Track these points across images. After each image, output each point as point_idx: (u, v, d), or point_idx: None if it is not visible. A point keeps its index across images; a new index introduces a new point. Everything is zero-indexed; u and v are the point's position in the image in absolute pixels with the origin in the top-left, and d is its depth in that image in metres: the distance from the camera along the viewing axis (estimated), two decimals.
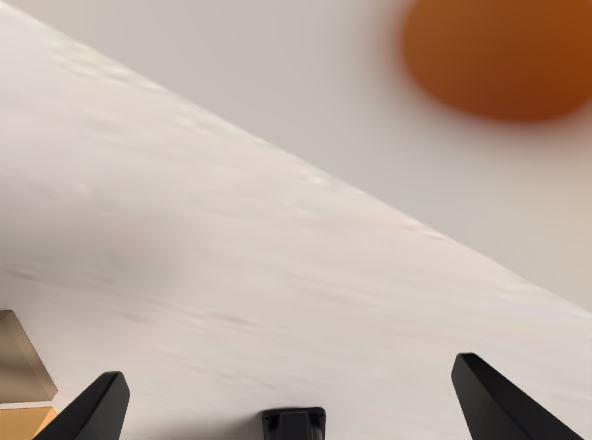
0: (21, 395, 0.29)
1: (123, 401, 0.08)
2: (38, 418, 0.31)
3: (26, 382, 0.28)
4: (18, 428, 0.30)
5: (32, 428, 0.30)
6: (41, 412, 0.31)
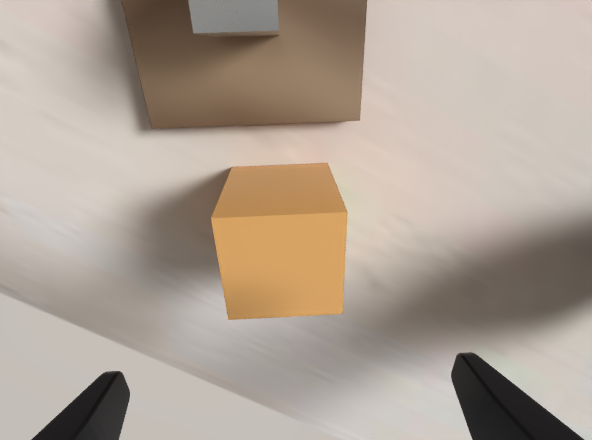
0: (312, 101, 0.15)
1: (123, 401, 0.08)
2: (318, 169, 0.17)
3: (337, 60, 0.14)
4: (295, 176, 0.16)
5: (320, 176, 0.16)
6: (315, 166, 0.17)
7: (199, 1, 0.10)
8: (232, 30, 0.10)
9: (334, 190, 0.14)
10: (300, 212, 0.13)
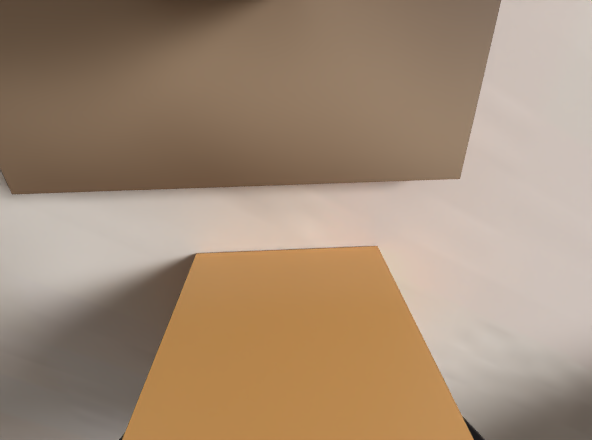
0: (364, 140, 0.07)
1: None
2: (365, 269, 0.08)
3: (430, 49, 0.06)
4: (322, 293, 0.08)
5: (375, 292, 0.08)
6: (357, 256, 0.09)
7: None
8: None
9: (422, 357, 0.06)
10: None
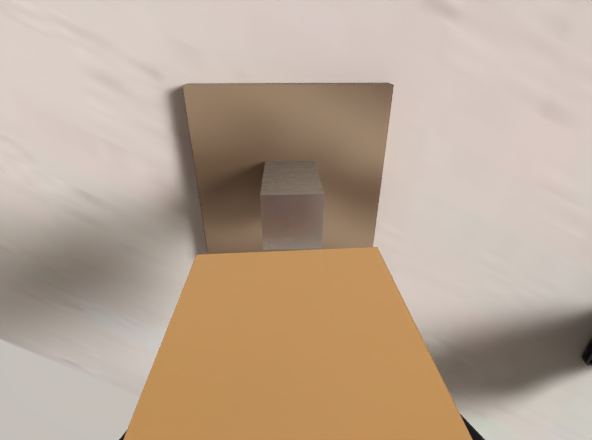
0: (335, 246, 0.20)
1: None
2: (365, 270, 0.08)
3: (356, 220, 0.19)
4: (323, 294, 0.08)
5: (375, 293, 0.08)
6: (357, 257, 0.09)
7: (269, 233, 0.14)
8: (290, 248, 0.14)
9: (422, 358, 0.06)
10: None
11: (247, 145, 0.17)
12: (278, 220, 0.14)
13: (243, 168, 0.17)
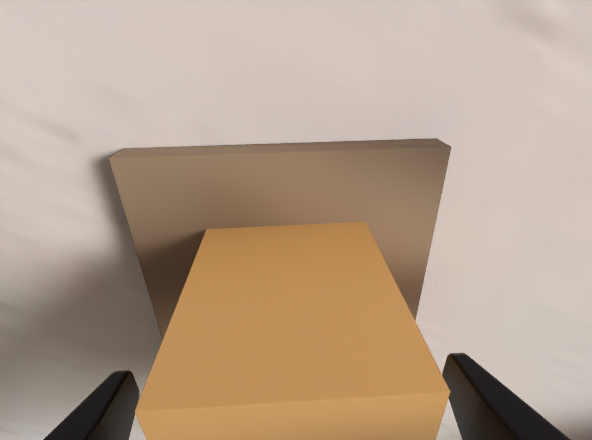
0: None
1: (133, 401, 0.08)
2: (353, 239, 0.10)
3: None
4: (316, 258, 0.09)
5: (361, 256, 0.09)
6: (347, 229, 0.10)
7: None
8: None
9: (397, 302, 0.07)
10: (342, 390, 0.06)
11: None
12: None
13: None
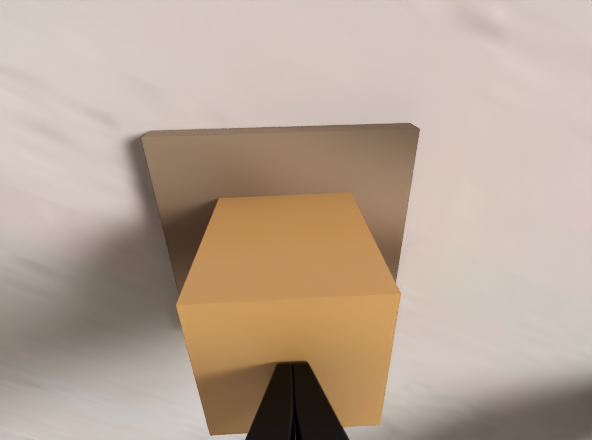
0: None
1: None
2: (339, 204, 0.12)
3: None
4: (309, 217, 0.11)
5: (345, 216, 0.11)
6: (335, 198, 0.12)
7: None
8: None
9: (370, 244, 0.10)
10: (323, 293, 0.08)
11: None
12: None
13: None
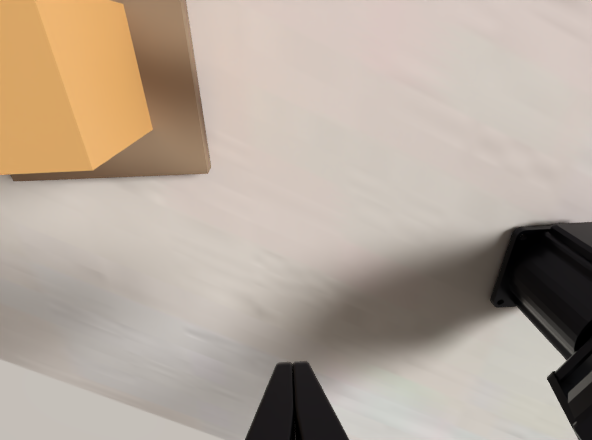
0: (160, 158, 0.17)
1: None
2: None
3: (175, 123, 0.16)
4: None
5: None
6: None
7: None
8: None
9: None
10: None
11: None
12: None
13: None
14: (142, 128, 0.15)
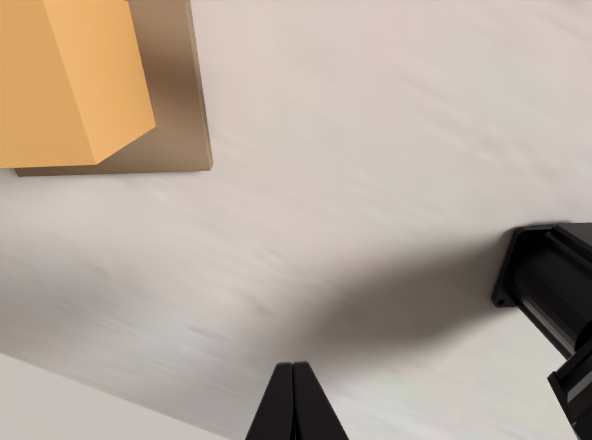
0: (163, 154, 0.17)
1: None
2: None
3: (178, 120, 0.16)
4: None
5: None
6: None
7: None
8: None
9: None
10: None
11: None
12: None
13: None
14: (145, 124, 0.15)
